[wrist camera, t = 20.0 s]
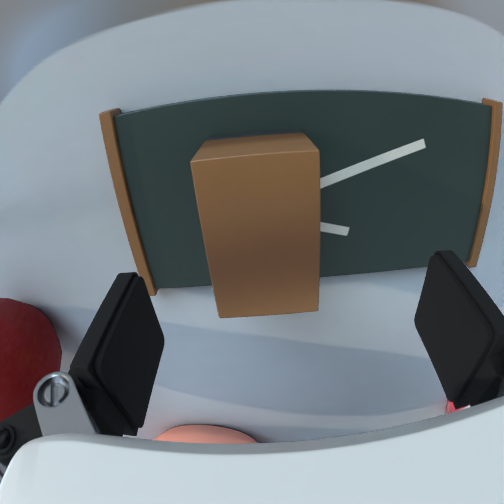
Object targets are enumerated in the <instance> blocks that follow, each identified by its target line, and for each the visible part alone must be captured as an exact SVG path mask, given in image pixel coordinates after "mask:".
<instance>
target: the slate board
mask: <svg viewBox="0 0 504 504" xmlns="http://www.w3.org/2000/svg"><path fill="white" fill-rule="evenodd" d="M99 118H100V123H101V129H102V134H103V139H104V144H105V149H106V154H107V158H108V163H109V167H110V172H111V176H112V180H113V184H114V188H115V193H116V197H117V200H118V204H119V208H120V212H121V216H122V219H123V223H124V227H125V230H126V234H127V237H128V241H129V244H130V247H131V251H132V254H133V257H134V260H135V264H136V267H137V270H138V273H139V276H141V277H143V279H144V281H145V284H146V287H147V290H148V293H149V296H155V295H156V294H157V291H158V289H159V288H177V287H194V286H210V285H212V281H211V276H210V271H209V266H208V261H207V256H206V250H205V245H204V239H203V234H202V228H201V223H200V217H199V212H198V206H197V200H196V194H195V188H194V182H193V176H192V170H191V163H190V161H191V160H192V158H193V157H194V156H195V154H196V153H197V151H198V150H199V149H200V147H201V146H202V144H203V143H204V142H205V141H206V139H207V138H208V137H209V136H213V135H222V134H231V133H241V132H252V131H265V130H279V129H297V128H299V129H300V130H301V131H302V132H303V133H304V134H305V135H306V136H307V137H308V138H309V139H310V140H311V142H312V143H313V144H314V145H315V146H316V147H317V148H318V150H319V151H320V276H319V277H328V276H339V275H350V274H360V273H371V272H381V271H390V270H400V269H409V268H418V267H427V266H428V264H429V260H430V257H431V256H433V255H434V253H435V252H436V251H441V250H452V251H453V252H454V253H455V254H456V255H457V256H458V257H459V259H460V260H461V261H462V262H464V263H465V264H466V265H467V266H468V268H472V267H476V264H477V261H478V257H479V254H480V250H481V246H482V242H483V238H484V234H485V230H486V226H487V221H488V217H489V212H490V207H491V202H492V197H493V191H494V185H495V179H496V172H497V165H498V157H499V148H500V137H501V124H502V102H498V101H494V100H490V99H485V98H483V103H477V102H472V101H466V100H460V99H453V98H446V97H439V96H431V95H422V94H412V93H401V92H387V91H368V90H292V91H273V92H259V93H247V94H237V95H228V96H219V97H211V98H204V99H197V100H190V101H184V102H177V103H172V104H166V105H161V106H155V107H150V108H145V109H140V110H136V111H131V112H127V113H122V114H120V109H119V108H116V109H112V110H109V111H105V112H102V113H100V114H99Z"/></svg>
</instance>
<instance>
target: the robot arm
mask: <svg viewBox="0 0 504 504" xmlns="http://www.w3.org/2000/svg"><path fill="white" fill-rule="evenodd" d="M414 321H415V326H416V329H417V331H418V333H419V335H420V337H421V339H422V341H423V344H424V346H425V348H426V350H427V352H428V354H429V357H430V359H431V361H432V363H433V366H434V368H435V370H436V373H437V375H438V377H439V380H440V382H441V384H442V387H443V389H444V392H445V394H446V397H447V399H448V400H449V402H453V405H454V407H455V410H456V409H460V408H463V407H466V406H468V405H469V404H470V407H469V408H466V409H462V410H459V411H455V412H452V413H449V414H445V415H442V416H438V417H434V418H431V419H427V420H423V421H419V422H415V423H410V424H406V425H401V426H397V427H392V428H387V429H382V430H376V431H371V432H365V433H359V434H353V435H346V436H339V437H331V438H323V439H314V440H303V441H291V442H275V443H249V444H213V443H187V442H172V441H158V440H147V439H137V438H128V437H122V436H123V434H124V435H131V436H137V431H138V428H141V427H142V426H143V424H144V421H145V416H146V412H147V408H148V404H149V400H150V396H151V392H152V389H153V385H154V381H155V377H156V373H157V370H158V366H159V362H160V358H161V355H162V351H163V348H164V335H163V332H162V330H161V327H160V324H159V322H158V319H157V316H156V313H155V310H154V308H153V305H152V302H151V299H150V296H149V293H148V290H147V287H146V284H145V281H144V279H143V277H141V276H138V274H137V273H136V272H130V273H119V274H118V275H117V277H116V279H115V281H114V282H113V284H112V286H111V288H110V290H109V291H108V293H107V295H106V297H105V299H104V300H103V302H102V304H101V306H100V308H99V310H98V312H97V313H96V315H95V317H94V319H93V321H92V323H91V325H90V327H89V329H88V331H87V333H86V335H85V337H84V339H83V341H82V343H81V345H80V347H79V349H78V351H77V353H76V355H75V357H74V359H73V361H72V363H71V365H70V367H71V368H70V370H69V372H68V374H67V373H65V372H53V373H50V374H48V375H46V376H45V377H43V378H42V379H41V380H40V381H39V382H38V383H37V385H36V387H35V389H34V393H33V402H34V403H32V404H30V405H29V406H27V407H25V408H23V409H22V410H20V411H18V412H17V413H15V414H13V415H11V416H10V417H8V418H6V419H4V420H3V421H1V422H0V504H504V315H503V314H502V313H501V311H500V310H499V308H498V307H497V306H496V304H495V303H494V302H493V300H492V299H491V298H490V296H489V295H488V294H487V292H486V291H485V290H484V288H483V287H482V286H481V284H480V283H479V282H478V281H477V279H476V278H475V277H474V276H473V274H472V273H471V272H470V271H469V269H468V268H467V267H466V266H465V265H464V263H463V262H462V261H461V260H460V259H459V257H458V256H457V255H456V254H455V253H454V252H453V251H452V250H441V251H436V252H435V253H434V255H433V256H431V257H430V260H429V264H428V268H427V272H426V277H425V281H424V285H423V289H422V292H421V296H420V300H419V303H418V307H417V311H416V314H415V319H414Z"/></svg>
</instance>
